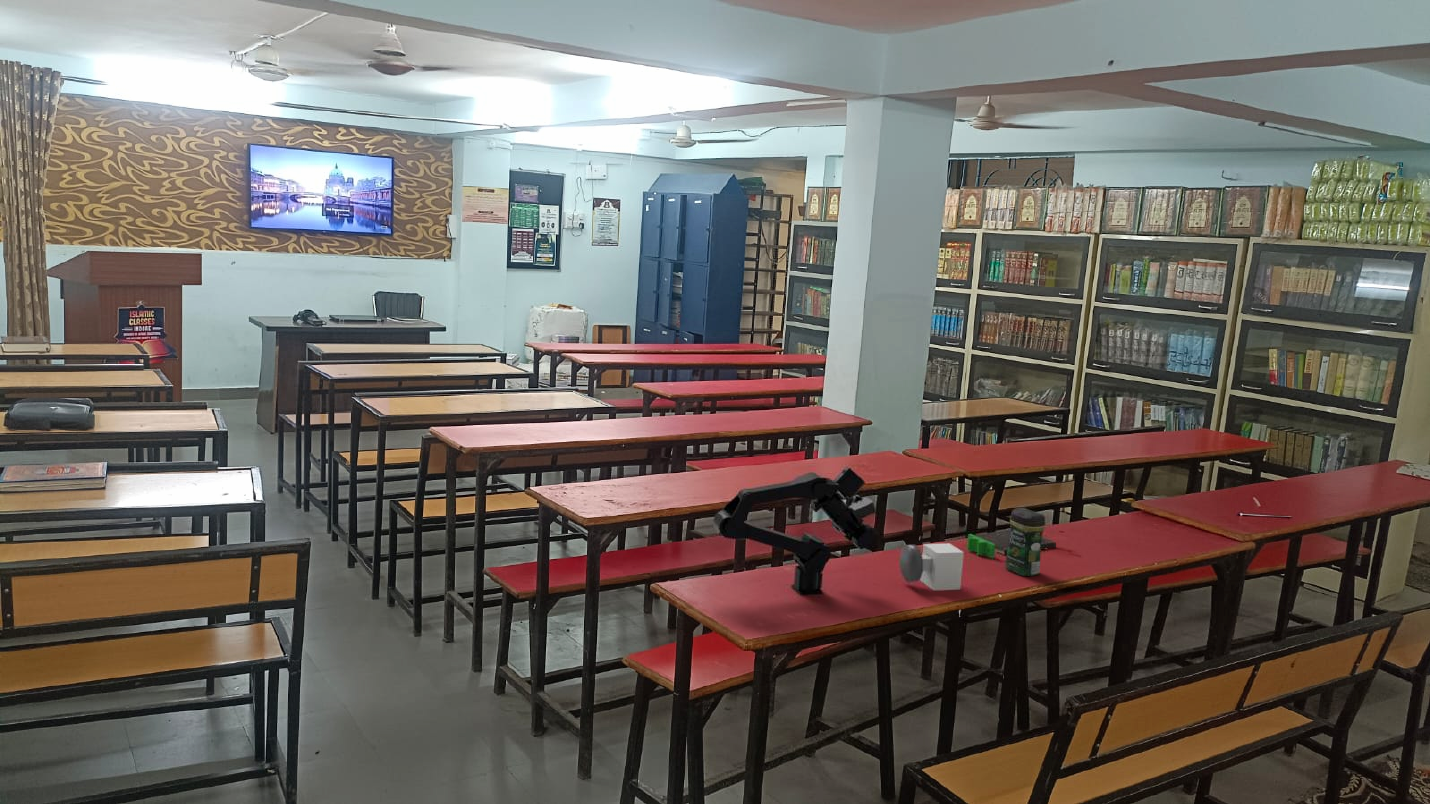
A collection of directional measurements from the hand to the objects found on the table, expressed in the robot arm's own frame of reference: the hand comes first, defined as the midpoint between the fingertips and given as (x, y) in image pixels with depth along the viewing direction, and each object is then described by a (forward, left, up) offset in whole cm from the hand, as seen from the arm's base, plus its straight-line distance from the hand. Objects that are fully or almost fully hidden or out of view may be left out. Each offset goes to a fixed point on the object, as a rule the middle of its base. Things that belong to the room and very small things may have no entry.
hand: (872, 549), depth 264 cm
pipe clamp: (+49, +22, -11) cm, 55 cm away
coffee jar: (+52, +4, -11) cm, 53 cm away
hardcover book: (+66, +28, -11) cm, 73 cm away
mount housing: (+21, -2, -11) cm, 24 cm away
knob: (+14, -1, -9) cm, 17 cm away
